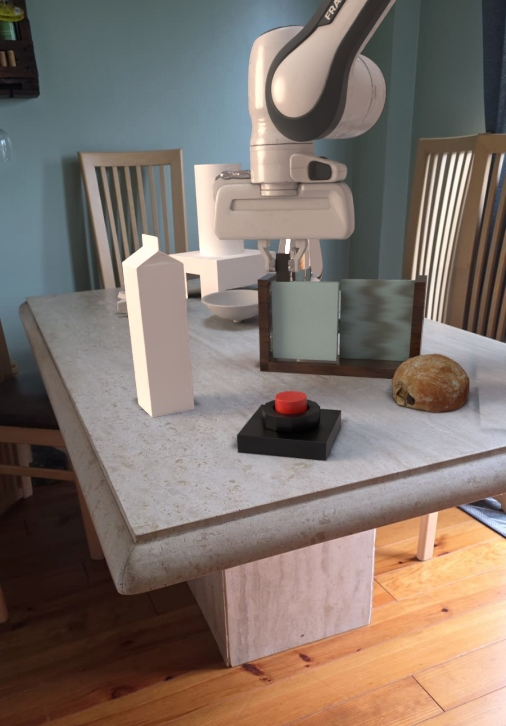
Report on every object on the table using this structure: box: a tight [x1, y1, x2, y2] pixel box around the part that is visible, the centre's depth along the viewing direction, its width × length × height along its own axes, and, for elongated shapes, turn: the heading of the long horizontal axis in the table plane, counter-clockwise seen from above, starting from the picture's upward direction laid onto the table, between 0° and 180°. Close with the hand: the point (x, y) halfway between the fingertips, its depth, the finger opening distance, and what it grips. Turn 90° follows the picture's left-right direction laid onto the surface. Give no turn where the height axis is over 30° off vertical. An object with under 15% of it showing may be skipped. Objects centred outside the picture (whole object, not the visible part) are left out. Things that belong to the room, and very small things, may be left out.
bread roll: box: [391, 353, 471, 413], centre depth 82 cm, size 10×10×8 cm
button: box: [274, 390, 308, 414], centre depth 71 cm, size 4×4×2 cm
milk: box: [121, 233, 195, 419], centre depth 79 cm, size 6×6×22 cm
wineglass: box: [277, 239, 324, 281], centre depth 105 cm, size 8×8×20 cm
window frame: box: [257, 273, 428, 380], centre depth 94 cm, size 24×6×14 cm, turn 73°
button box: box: [236, 398, 342, 462], centre depth 72 cm, size 10×10×4 cm
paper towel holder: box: [168, 162, 277, 300], centre depth 151 cm, size 19×19×30 cm
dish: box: [200, 289, 258, 323], centre depth 128 cm, size 18×14×5 cm
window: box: [272, 252, 340, 361], centre depth 93 cm, size 10×1×16 cm, turn 73°
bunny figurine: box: [116, 290, 128, 314], centre depth 139 cm, size 10×5×15 cm
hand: (283, 271), depth 92 cm, fingers closed on window, 2 cm apart
